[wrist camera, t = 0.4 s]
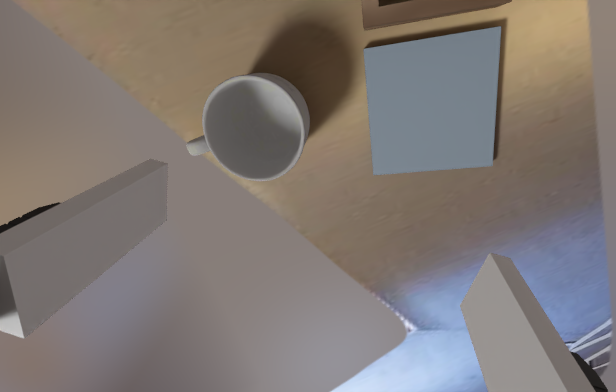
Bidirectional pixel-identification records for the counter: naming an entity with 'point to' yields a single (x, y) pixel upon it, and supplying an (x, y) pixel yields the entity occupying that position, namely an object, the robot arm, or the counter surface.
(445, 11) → the frame
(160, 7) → the counter surface
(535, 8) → the counter surface
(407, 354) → the counter surface
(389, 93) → the board
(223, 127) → the teacup
